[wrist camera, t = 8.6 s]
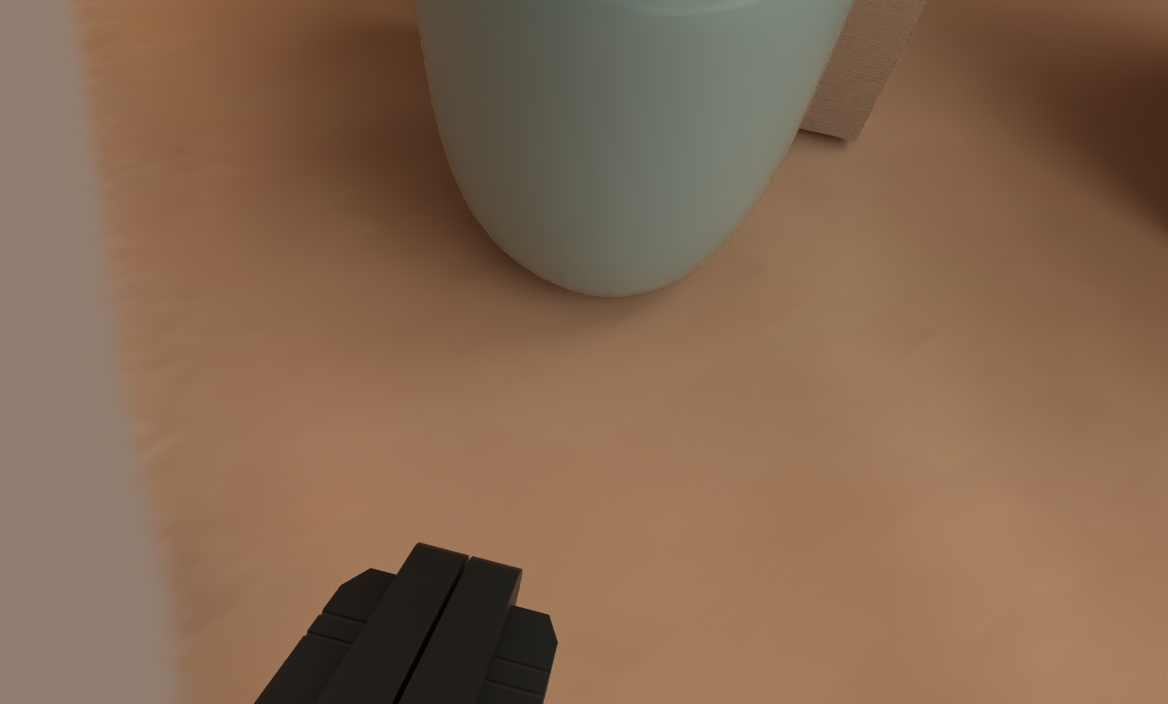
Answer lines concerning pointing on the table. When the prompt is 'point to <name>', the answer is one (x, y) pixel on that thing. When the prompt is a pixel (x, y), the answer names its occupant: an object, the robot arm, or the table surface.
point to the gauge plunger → (861, 65)
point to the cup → (620, 124)
